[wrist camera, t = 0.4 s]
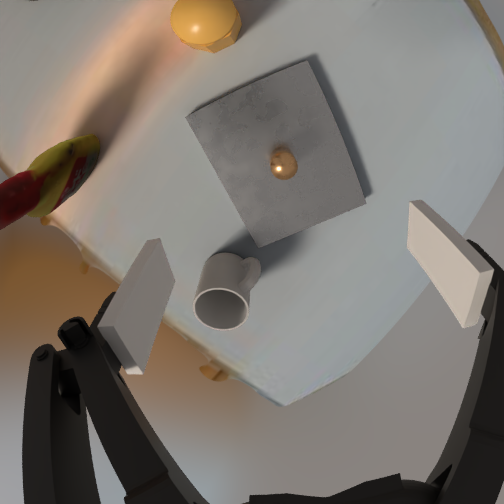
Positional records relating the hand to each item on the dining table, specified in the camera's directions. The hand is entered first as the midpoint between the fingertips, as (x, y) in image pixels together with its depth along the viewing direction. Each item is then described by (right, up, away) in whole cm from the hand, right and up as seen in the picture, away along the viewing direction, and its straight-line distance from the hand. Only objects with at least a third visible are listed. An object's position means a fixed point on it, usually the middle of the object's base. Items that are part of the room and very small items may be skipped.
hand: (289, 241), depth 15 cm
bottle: (-26, +12, +23) cm, 37 cm away
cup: (-5, -3, +31) cm, 31 cm away
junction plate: (+2, +12, +22) cm, 25 cm away
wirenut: (-7, +26, +14) cm, 31 cm away
